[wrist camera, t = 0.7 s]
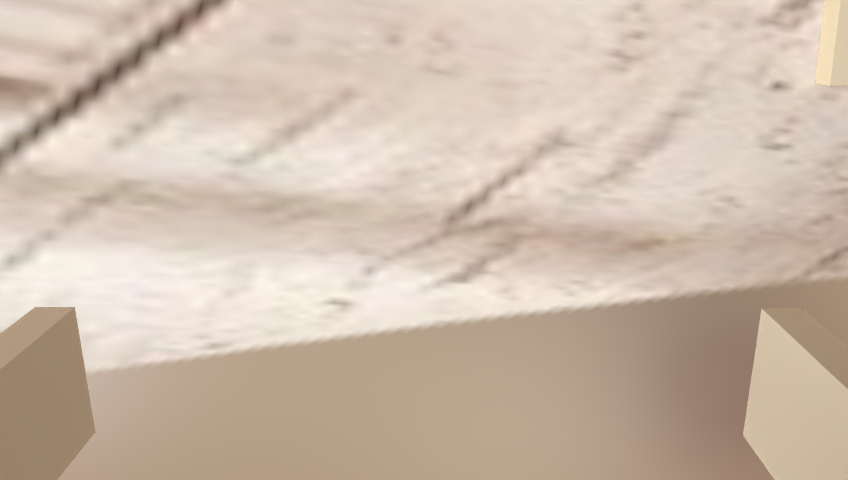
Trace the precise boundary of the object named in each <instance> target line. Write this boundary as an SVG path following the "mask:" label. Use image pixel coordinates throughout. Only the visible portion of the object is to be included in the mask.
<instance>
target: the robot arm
mask: <svg viewBox="0 0 848 480" xmlns="http://www.w3.org/2000/svg"><path fill="white" fill-rule="evenodd" d="M94 433H95V428H94V422H93V416H92V410H91V404H90V398H89V391H88V385H87V379H86V373H85V367H84V361H83V355H82V349H81V343H80V337H79V331H78V325H77V319H76V313H75V307H35V308H34V309H32V310H31V311H30V312H28V313H27V314H26V315H24V316H23V317H22V318H20V319H19V320H18V321H16V322H15V323H14V324H12V325H11V326H10V327H9V328H7V329H6V330H5V331H3V332H2V333H1V334H0V480H57V479H58V478H59V477H60V475H61V474H62V473H63V471H64V470H65V469H66V468H67V467H68V465H69V464H70V462H72V460H73V459H74V458H75V457H76V455H77V454H78V453H79V452H80V450H81V449H82V448H83V447H84V445H85V444H86V443H87V442H88V440H89V439H90V438H91V437H92V435H93V434H94ZM743 436H744V437H745V439H746V440H747V441H748V443H749V444H750V446H751V447H752V448H753V450H754V451H755V453H756V454H757V455H758V457H759V458H760V460H761V461H762V462H763V464H764V465H765V467H766V468H767V470H768V471H769V472H770V474H771V475H772V477H773V478H774V480H848V346H847V345H846V344H844V343H843V342H842V341H841V340H840V339H838V338H837V337H836V336H835V335H834V334H832V333H831V332H830V331H829V330H828V329H826V328H825V327H824V326H823V325H822V324H820V323H819V322H818V321H817V320H816V319H814V318H813V317H812V316H811V315H810V314H809V313H807V312H806V311H805V310H804V309H794V308H793V309H790V308H788V309H787V308H784V309H782V308H781V309H780V308H778V309H775V308H774V309H773V308H771V309H770V308H765V309H764V308H762V310H761V317H760V324H759V330H758V337H757V344H756V351H755V358H754V365H753V371H752V378H751V385H750V392H749V398H748V405H747V412H746V420H745V426H744V433H743Z"/></svg>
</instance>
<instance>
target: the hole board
mask: <svg viewBox="0 0 848 480" xmlns="http://www.w3.org/2000/svg"><path fill="white" fill-rule="evenodd" d="M815 83H817V84H822V85H827V86H848V0H825V1H824V10H823V18H822V26H821V34H820V42H819V51H818V59H817V67H816V75H815Z"/></svg>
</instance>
